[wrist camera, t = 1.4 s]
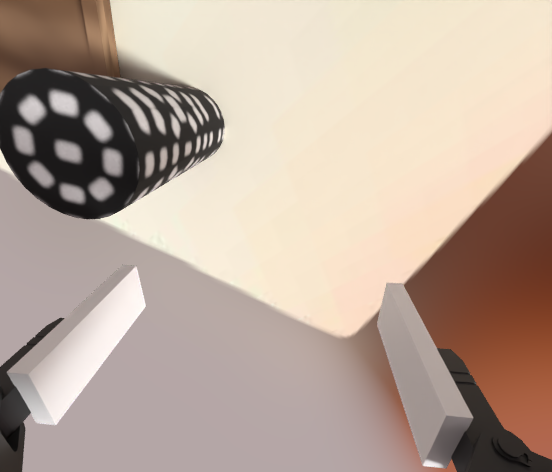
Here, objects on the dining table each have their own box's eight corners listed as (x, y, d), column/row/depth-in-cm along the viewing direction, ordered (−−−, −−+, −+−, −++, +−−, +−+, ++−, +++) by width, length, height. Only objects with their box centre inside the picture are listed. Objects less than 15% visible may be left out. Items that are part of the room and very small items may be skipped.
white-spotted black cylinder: (155, 151, 36) (9, 201, 18) (158, 78, 32) (-21, 49, 14) (219, 167, 36) (138, 232, 18) (229, 96, 32) (140, 90, 14)
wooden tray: (-42, -28, 29) (-77, -41, 27) (107, -17, 29) (86, -30, 26) (9, 134, 36) (-14, 136, 34) (130, 145, 36) (116, 148, 33)
